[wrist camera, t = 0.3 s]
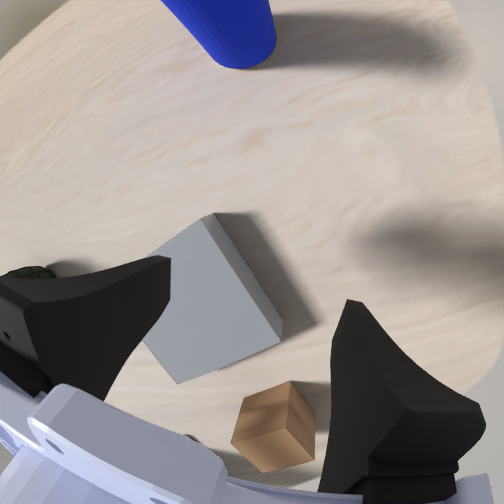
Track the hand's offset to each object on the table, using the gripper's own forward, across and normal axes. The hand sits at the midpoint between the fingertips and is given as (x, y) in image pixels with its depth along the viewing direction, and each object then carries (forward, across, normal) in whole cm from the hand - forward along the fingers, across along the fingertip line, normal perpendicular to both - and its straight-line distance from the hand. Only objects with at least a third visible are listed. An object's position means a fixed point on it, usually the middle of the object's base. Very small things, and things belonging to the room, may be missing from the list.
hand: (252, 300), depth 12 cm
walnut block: (+8, -3, +17) cm, 19 cm away
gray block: (+10, +5, +7) cm, 13 cm away
